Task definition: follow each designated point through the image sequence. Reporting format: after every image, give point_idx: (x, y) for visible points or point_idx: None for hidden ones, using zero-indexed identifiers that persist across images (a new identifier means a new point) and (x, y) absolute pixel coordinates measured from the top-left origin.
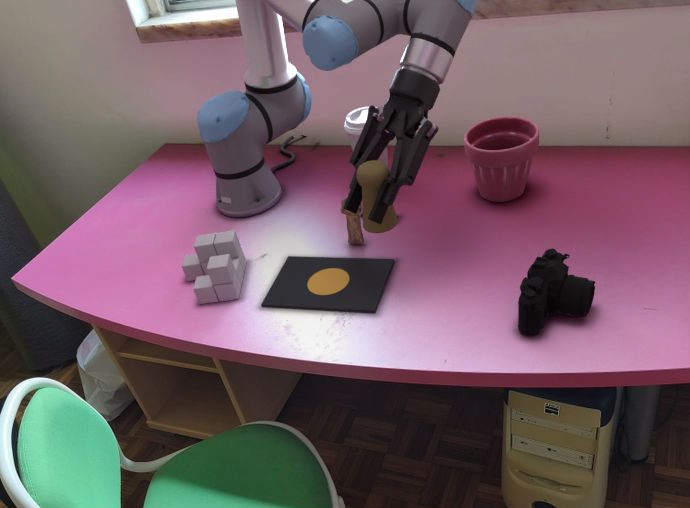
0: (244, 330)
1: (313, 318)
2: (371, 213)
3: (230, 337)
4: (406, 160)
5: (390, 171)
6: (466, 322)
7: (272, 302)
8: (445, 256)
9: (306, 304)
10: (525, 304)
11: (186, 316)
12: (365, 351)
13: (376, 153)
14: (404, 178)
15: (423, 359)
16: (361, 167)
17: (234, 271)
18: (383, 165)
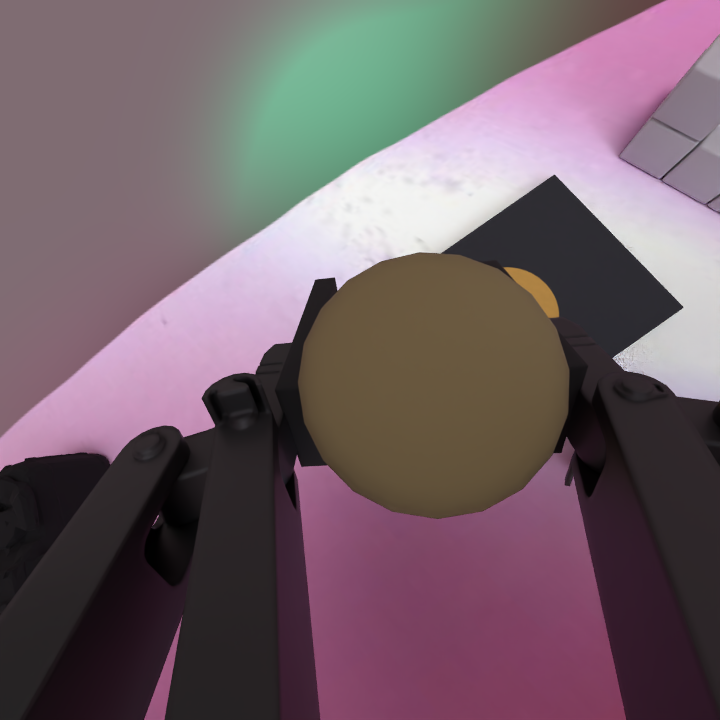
0: (511, 125)
1: (433, 232)
2: (323, 289)
3: (514, 99)
4: (81, 593)
5: (272, 451)
6: (193, 415)
7: (541, 194)
8: (370, 559)
9: (476, 238)
10: (14, 464)
11: (651, 61)
12: (285, 247)
13: (627, 605)
14: (125, 448)
15: (195, 300)
16: (486, 294)
17: (691, 133)
18: (345, 451)
